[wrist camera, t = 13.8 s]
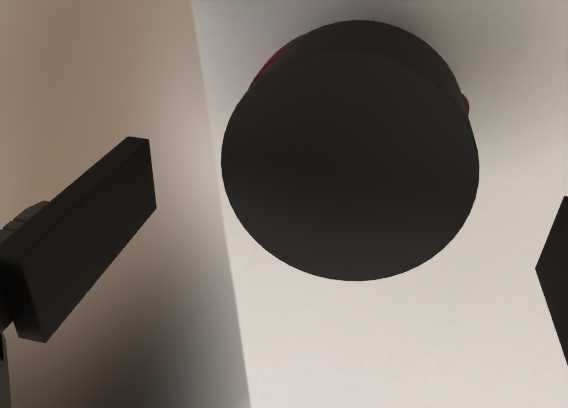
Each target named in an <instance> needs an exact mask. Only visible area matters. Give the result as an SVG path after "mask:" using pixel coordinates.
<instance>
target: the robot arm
mask: <svg viewBox="0 0 568 408" xmlns="http://www.w3.org/2000/svg"><path fill="white" fill-rule="evenodd" d="M156 208H157V207H156V198H155V190H154V181H153V172H152V163H151V154H150V145H149V139H143V138H136V137H127V138H125V139H124V140H123V141H122V142H121V143H119V144H118V145H117V146H116V147H115V148H113V149H112V150H111V151H110V152H109V153H107V154H106V155H105V156H104V157H103V158H102V159H100V160H99V161H98V162H97V163H95V164H94V165H93V166H92V167H91V168H90V169H88V170H87V171H86V172H85V173H84V174H82V175H81V176H80V177H79V178H78V179H76V180H75V181H74V182H73V183H72V184H71V185H69V186H68V187H67V188H66V189H64V190H63V191H62V192H61V193H60V194H59V195H57V196H56V197H55V198H54V199H52V200H51V201H50V202H49V201H42V202H40V203H37V204H35V205H33V206H31V207H29V208H27V209H25V210H24V211H23V212H21V213H20V214H19V215H18V216H17V217H15V218H14V219H13V221H10V222H9V223H8V224H6V225H5V226H4V227H3V230H0V408H11V397H10V386H9V373H8V360H7V347H6V340H5V337H4V334H3V331H4V330H5V329H6V328H7V327H8V326H9V325H10V323H11V322H12V321H13V322H14V325H15V328H16V331H17V334H18V337H19V338H23V339H28V340H33V341H38V342H42V343H46V342H47V341H48V339H49V338H50V337H51V336H52V335H53V333H54V332H55V331H56V330H57V329H58V327H59V326H60V325H61V324H62V322H63V321H64V320H65V319H66V318H67V316H68V315H69V314H70V313H71V312H72V310H73V309H74V308H75V307H76V306H77V304H78V303H79V302H80V301H81V299H82V298H83V297H84V296H85V295H86V293H87V292H88V291H89V290H90V289H91V287H92V286H93V285H94V284H95V282H96V281H97V280H98V279H99V277H100V276H101V275H102V274H103V273H104V271H105V270H106V269H107V268H108V267H109V265H110V264H111V263H112V262H113V261H114V259H115V258H116V257H117V256H118V254H119V253H120V252H121V251H122V249H123V248H124V247H125V246H126V245H127V243H128V242H129V241H130V240H131V239H132V237H133V236H134V235H135V234H136V233H137V231H138V230H139V229H140V228H141V227H142V225H143V224H144V223H145V222H146V220H147V219H148V218H149V217H150V215H151V214H152V213H153V212H154V211H155V210H156ZM535 270H536V273H537V276H538V279H539V282H540V285H541V288H542V291H543V294H544V297H545V299H546V302H547V305H548V308H549V311H550V314H551V317H552V320H553V323H554V326H555V329H556V332H557V335H558V338H559V341H560V344H561V347H562V350H563V353H564V356H565V359H566V362H567V365H568V196H564V198H563V200H562V203H561V205H560V208H559V210H558V213H557V215H556V218H555V220H554V223H553V225H552V228H551V230H550V233H549V235H548V238H547V240H546V243H545V245H544V248H543V250H542V253H541V255H540V258H539V260H538V263H537V265H536V268H535Z"/></svg>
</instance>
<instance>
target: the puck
mask: <svg viewBox="0 0 568 408" xmlns="http://www.w3.org/2000/svg"><path fill="white" fill-rule="evenodd" d="M221 168H222V178H223V182H224V187H225V191H226V194H227V196H228V199H229V202H230V205H231V207H232V208H233V210H234V212H235V214H236V216H237V218H238V219H239V221H240V222H241V224H242V225H243V227H244V228H245V229H246V231H247V232H248V233H249V234H250V235H251V236H252V237H253V239H254V240H255V241H256V242H258V243H259V244H260V245H261V246H262V247H263V248H264V249H265V250H267V251H268V252H269V253H271V254H272V255H273V256H275V257H276V258H278V259H279V260H281V261H283V262H285V263H286V264H288V265H290V266H292V267H294V268H296V269H299V270H301V271H303V272H306V273H309V274H312V275H315V276H319V277H324V278H328V279H334V280H342V281H367V280H377V279H382V278H387V277H391V276H394V275H398V274H401V273H404V272H406V271H409V270H411V269H413V268H415V267H418V266H419V265H421V264H423V263H424V262H426V261H428V260H429V259H431V258H432V257H434V256H435V255H436V254H437V253H439V252H440V251H441V250H443V249H444V248H445V247H446V246H447V244H448V243H449V242H450V241H451V240H452V239H453V238H454V237H455V236H456V234H457V233H458V232H459V230H460V229H461V228H462V226H463V225H464V223H465V221H466V219H467V217H468V216H469V214H470V212H471V209H472V206H473V203H474V201H475V198H476V193H477V188H478V183H479V158H478V150H477V146H476V142H475V139H474V135H473V131H472V128H471V125H470V121H469V118H468V115H467V111H466V108H465V105H464V101H463V98H462V94H461V91H460V88H459V86H458V83H457V81H456V79H455V77H454V75H453V73H452V71H451V70H450V68H449V67H448V65H447V63H446V62H445V61H444V60H443V59H442V57H441V56H440V55H439V54H438V53H437V52H436V51H435V50H434V49H433V48H432V47H431V46H429V45H428V44H427V43H426V42H425V41H423V40H422V39H420V38H419V37H417V36H415V35H414V34H412V33H410V32H408V31H406V30H404V29H401V28H399V27H396V26H393V25H390V24H386V23H382V22H376V21H369V20H351V21H342V22H336V23H333V24H329V25H325V26H322V27H320V28H317V29H315V30H312V31H310V32H308V33H307V34H305V35H303V36H302V37H300V38H298V39H297V40H296V41H294V42H293V43H292V44H290V45H289V46H288V47H287V48H286V49H285V50H284V51H283V52H282V53H281V54H280V55H279V56H278V57H277V58H276V59H275V60H274V61H273V63H272V64H271V65H270V66H269V67H268V68H267V69H266V71H265V72H264V73H263V74H262V75H261V76H260V77H259V78H258V80H257V81H256V82H255V83H254V84H253V85H252V86H251V88H250V89H249V90H248V91H247V92H246V93H245V95H244V96H243V97H242V99H241V100H240V102H239V103H238V104H237V106H236V108H235V110H234V111H233V113H232V115H231V117H230V119H229V122H228V125H227V128H226V131H225V133H224V139H223V144H222V152H221Z"/></svg>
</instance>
